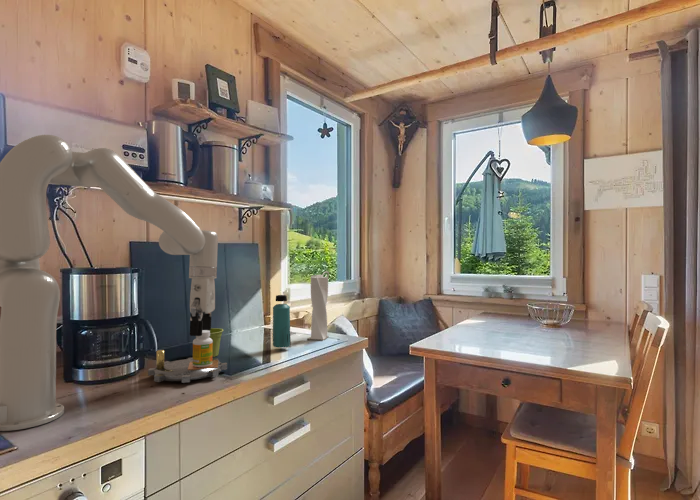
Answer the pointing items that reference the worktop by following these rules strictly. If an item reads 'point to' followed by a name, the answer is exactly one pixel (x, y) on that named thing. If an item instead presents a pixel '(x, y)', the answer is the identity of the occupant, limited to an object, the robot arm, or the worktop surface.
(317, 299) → the skyscraper
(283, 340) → the beverage bottle
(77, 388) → the worktop surface
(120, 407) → the worktop surface
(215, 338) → the plant pot
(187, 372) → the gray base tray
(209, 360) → the supplement bottle
